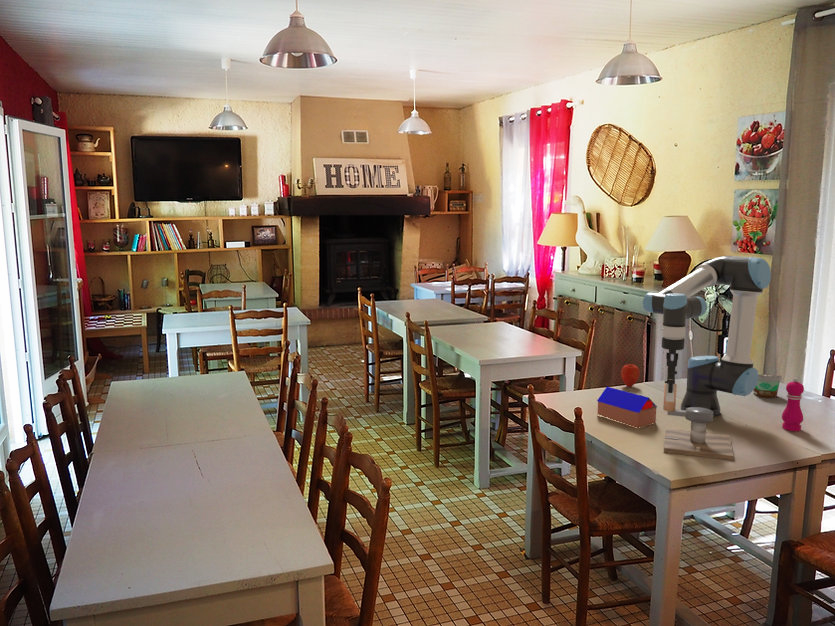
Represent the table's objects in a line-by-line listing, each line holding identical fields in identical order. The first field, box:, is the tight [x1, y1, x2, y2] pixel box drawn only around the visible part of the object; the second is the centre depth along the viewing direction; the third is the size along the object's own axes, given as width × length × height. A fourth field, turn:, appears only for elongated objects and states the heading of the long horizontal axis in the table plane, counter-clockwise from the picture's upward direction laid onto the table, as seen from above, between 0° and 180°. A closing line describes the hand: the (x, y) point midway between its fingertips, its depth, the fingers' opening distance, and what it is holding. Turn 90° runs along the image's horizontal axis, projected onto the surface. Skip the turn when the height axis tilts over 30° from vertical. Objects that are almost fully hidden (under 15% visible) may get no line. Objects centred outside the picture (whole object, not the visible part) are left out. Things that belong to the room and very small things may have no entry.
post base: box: [663, 421, 735, 461], centre depth 242 cm, size 22×22×10 cm
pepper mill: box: [781, 377, 805, 432], centre depth 259 cm, size 7×7×20 cm
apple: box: [620, 363, 640, 388], centre depth 320 cm, size 9×8×11 cm
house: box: [596, 386, 658, 429], centre depth 271 cm, size 12×20×12 cm, turn 36°
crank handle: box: [662, 382, 714, 424], centre depth 242 cm, size 16×9×12 cm, turn 69°
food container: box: [752, 373, 783, 399], centre depth 302 cm, size 12×6×10 cm, turn 73°
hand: (669, 396), depth 244 cm, fingers open, 12 cm apart
